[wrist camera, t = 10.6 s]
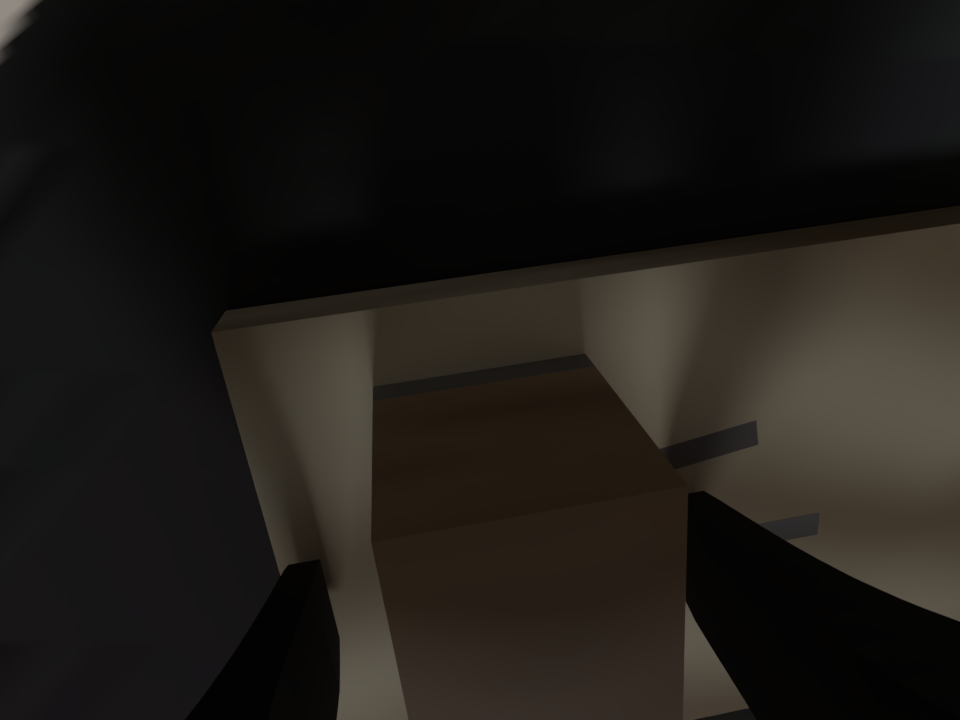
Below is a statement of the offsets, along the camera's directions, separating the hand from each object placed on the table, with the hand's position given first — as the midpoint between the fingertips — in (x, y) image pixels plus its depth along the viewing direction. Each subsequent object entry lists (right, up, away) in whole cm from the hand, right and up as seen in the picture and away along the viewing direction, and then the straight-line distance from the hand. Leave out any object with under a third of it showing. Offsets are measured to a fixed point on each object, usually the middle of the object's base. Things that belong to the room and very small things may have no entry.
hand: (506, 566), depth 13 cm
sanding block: (0, 0, +1) cm, 1 cm away
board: (+3, +1, +2) cm, 4 cm away
